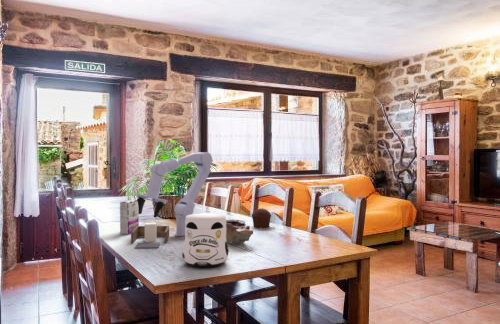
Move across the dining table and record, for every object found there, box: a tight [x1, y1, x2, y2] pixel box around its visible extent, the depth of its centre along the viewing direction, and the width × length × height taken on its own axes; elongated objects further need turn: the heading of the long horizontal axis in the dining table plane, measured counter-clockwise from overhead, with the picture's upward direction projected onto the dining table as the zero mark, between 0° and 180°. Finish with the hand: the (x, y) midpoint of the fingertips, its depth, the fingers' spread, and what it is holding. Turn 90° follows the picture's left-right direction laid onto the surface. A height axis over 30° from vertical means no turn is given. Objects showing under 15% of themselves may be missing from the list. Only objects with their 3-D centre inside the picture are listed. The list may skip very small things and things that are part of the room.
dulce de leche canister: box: [182, 212, 229, 268], centre depth 151 cm, size 17×17×18 cm
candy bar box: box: [119, 199, 140, 235], centre depth 206 cm, size 11×5×16 cm, turn 168°
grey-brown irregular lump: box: [226, 219, 254, 244], centre depth 186 cm, size 13×20×10 cm, turn 25°
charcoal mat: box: [134, 241, 161, 250], centre depth 177 cm, size 10×9×1 cm
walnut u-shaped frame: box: [130, 225, 170, 245], centre depth 190 cm, size 16×16×5 cm
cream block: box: [144, 222, 158, 243], centre depth 188 cm, size 5×5×8 cm
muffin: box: [251, 208, 272, 229], centre depth 225 cm, size 12×11×10 cm
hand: (147, 215), depth 189 cm, fingers open, 7 cm apart
